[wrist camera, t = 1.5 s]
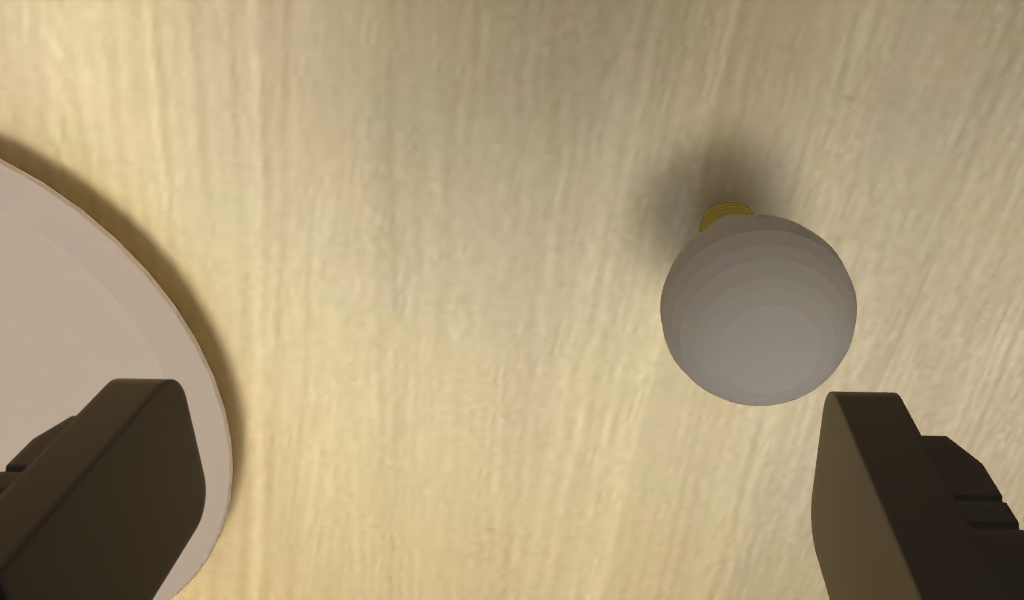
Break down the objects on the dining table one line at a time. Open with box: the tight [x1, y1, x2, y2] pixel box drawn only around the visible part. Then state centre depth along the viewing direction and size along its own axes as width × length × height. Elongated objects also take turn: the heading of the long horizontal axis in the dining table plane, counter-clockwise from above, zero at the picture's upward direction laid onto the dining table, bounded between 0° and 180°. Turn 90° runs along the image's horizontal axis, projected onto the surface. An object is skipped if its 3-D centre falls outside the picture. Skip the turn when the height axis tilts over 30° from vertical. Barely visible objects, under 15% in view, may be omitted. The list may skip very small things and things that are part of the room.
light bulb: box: [660, 201, 857, 406], centre depth 28 cm, size 6×6×10 cm
